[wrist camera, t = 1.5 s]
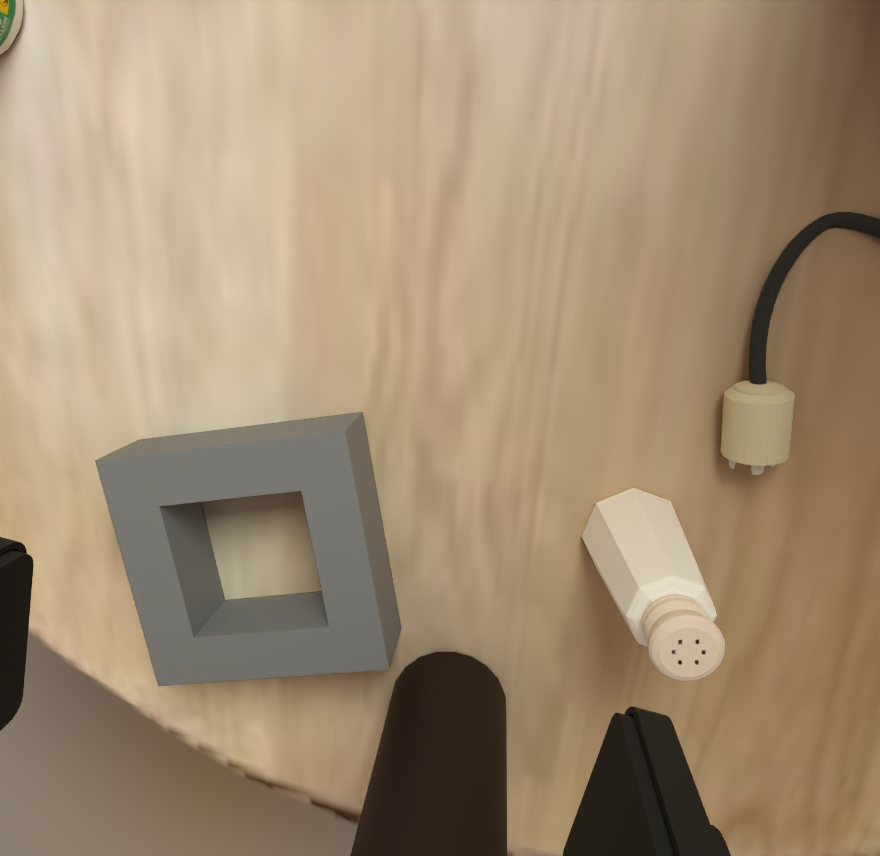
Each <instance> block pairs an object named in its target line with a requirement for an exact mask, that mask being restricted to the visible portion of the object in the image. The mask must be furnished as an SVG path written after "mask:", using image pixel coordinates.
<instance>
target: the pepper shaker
mask: <svg viewBox="0 0 880 856" xmlns="http://www.w3.org/2000/svg"><path fill="white" fill-rule="evenodd" d="M581 537H582V539H583V541H584V543H585V545H586V547H587V549H588V552H589V554H590V556H591V558H592V560H593V562H594V564H595V567H596V569H597V570H598V572H599V574H600V576H601V578H602V580H603V581H604V583H605V585H606V587H607V589H608V591H609V592H610V594H611V596H612V598H613V600H614V601H615V603H616V605H617V607H618V609H619V611H620V612H621V614H622V616H623V618H624V620H625V621H626V623H627V625H628V627H629V629H630V631H631V632H632V634H633V636H634V637H635V639H636V640H637V642H638V643H639V644H641V645H644V646H647V647H648V650H649V656H650V658H651V661H652V663H653V665H654V666H655V667H656V668H657V669H658V671H659V672H661V673H662V674H664V675H665V676H667V677H669V678H672V679H675V680H681V681H691V680H697V679H700V678H703V677H705V676H707V675H709V674H710V673H712V672H713V671H714V670H715V669H716V668H717V667H718V666H719V665H720V663H721V661H722V659H723V657H724V653H725V640H724V638H723V635H722V633H721V631H720V630H719V629H718V627H717V626H716V625H715V624H714V621H715V619H716V617H717V614H716V610H715V607H714V604H713V602H712V600H711V597H710V595H709V592H708V590H707V587H706V585H705V582H704V580H703V578H702V575H701V573H700V570H699V568H698V565H697V563H696V561H695V558H694V556H693V553H692V551H691V548H690V546H689V543H688V541H687V539H686V536H685V534H684V531H683V529H682V527H681V525H680V522H679V520H678V518H677V515H676V513H675V511H674V508H673V506H672V504H671V502H670V501H669V500H666V499H663V498H661V497H658V496H655V495H652V494H649V493H647V492H644V491H641V490H638V489H635V488H631V489H629V490H626V491H624V492H621V493H619V494H616V495H614V496H612V497H609V498H607V499H604V500H602V501H599V502H597V503H596V504H595V507H594V509H593V511H592V513H591V516H590V518H589V520H588V522H587V525H586V527H585V529H584V532H583V534H582V536H581Z"/></svg>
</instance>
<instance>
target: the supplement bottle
mask: <svg viewBox="0 0 880 856" xmlns="http://www.w3.org/2000/svg"><path fill="white" fill-rule="evenodd" d="M22 18H23V0H0V54H2V53H3V52H4V51H6V50H7V49H8V48H9V47H10V45H11V44H12V43H13V41H14V39H15V37H16V35H17V33H18V31H19V29H20V26H21V23H22Z"/></svg>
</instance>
